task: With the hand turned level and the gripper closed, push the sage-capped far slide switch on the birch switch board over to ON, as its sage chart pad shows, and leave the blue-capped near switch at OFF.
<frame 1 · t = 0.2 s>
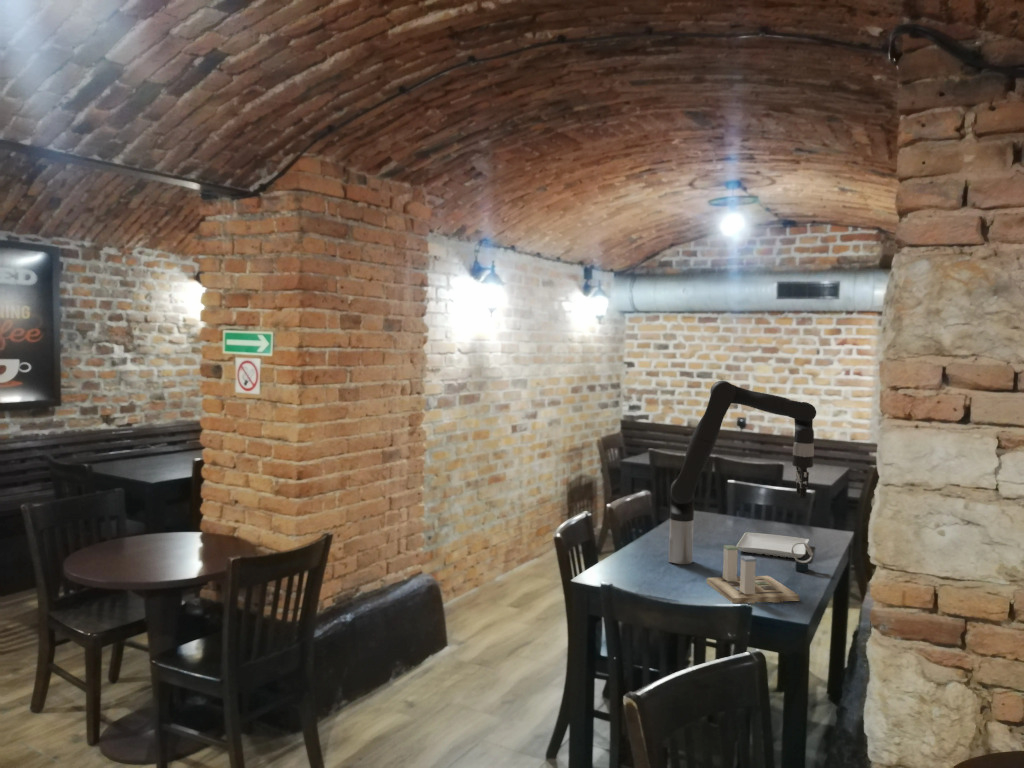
hand: (801, 495, 294), 29 cm above the table, tool pointing down, fingers open, 8 cm apart
near switch: (747, 574, 261), point 8 cm above the table, slide at 0.0 cm
switch board: (751, 592, 269), on the table
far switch: (730, 562, 274), point 9 cm above the table, slide at 0.0 cm
square plate: (773, 550, 325), on the table
watch: (801, 570, 296), on the table
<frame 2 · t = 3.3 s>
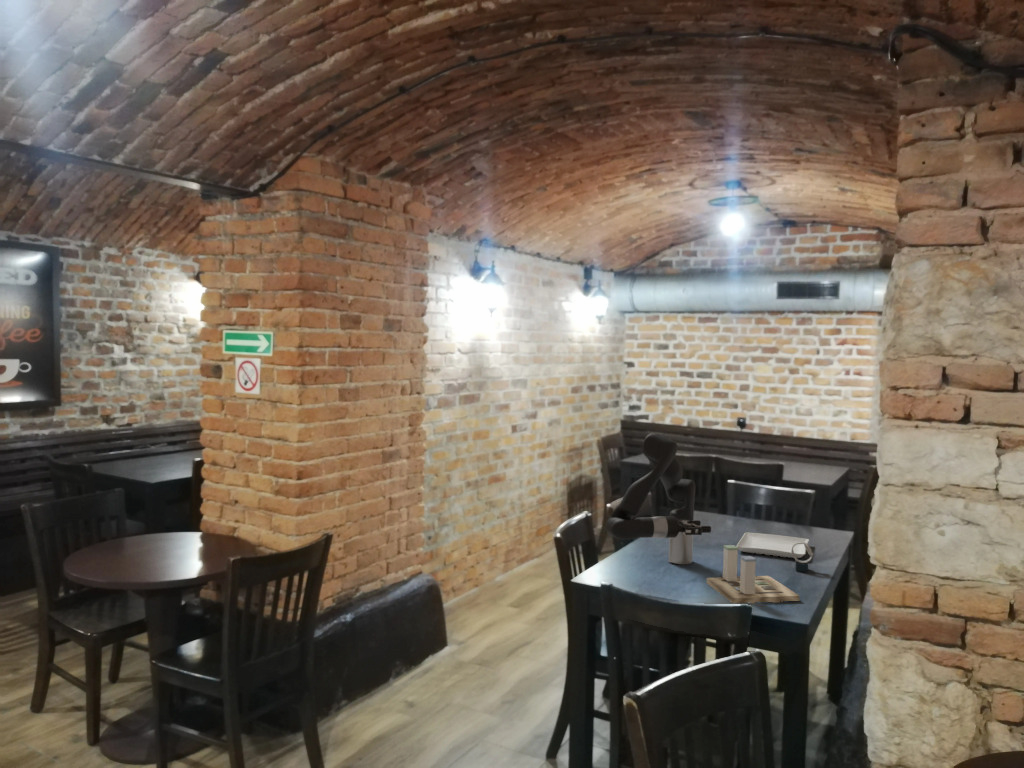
hand: (705, 526, 272), 22 cm above the table, tool horizontal, fingers open, 8 cm apart
nothing on the table moved.
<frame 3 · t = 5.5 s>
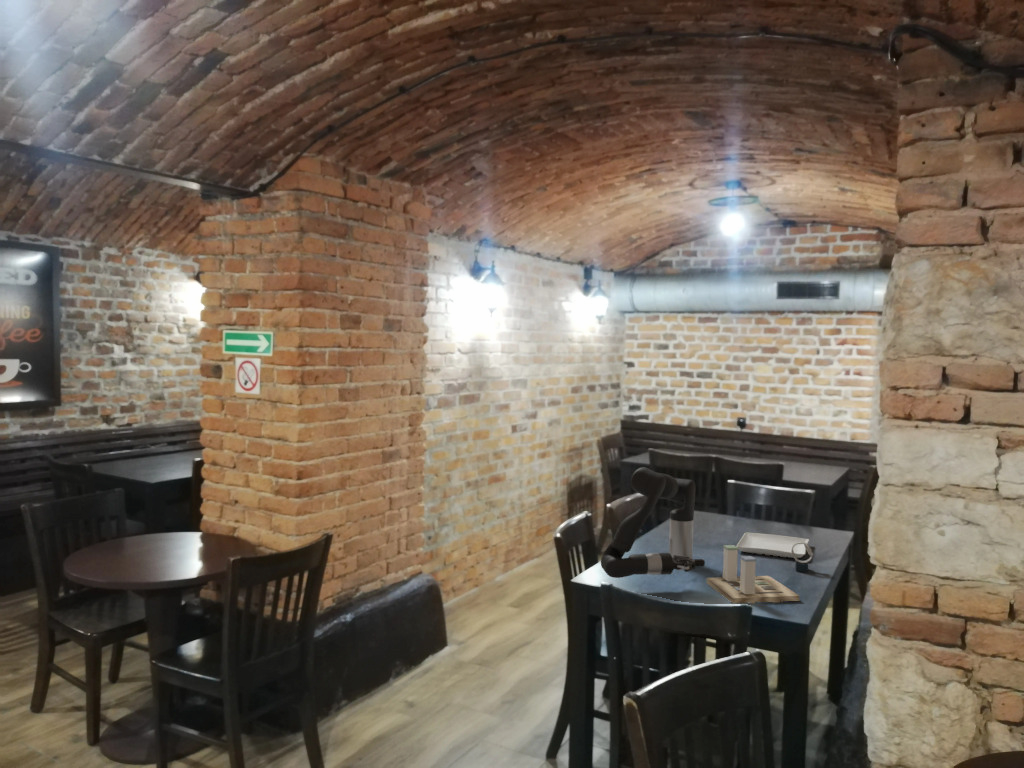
hand: (703, 562, 273), 9 cm above the table, tool horizontal, fingers closed
nothing on the table moved.
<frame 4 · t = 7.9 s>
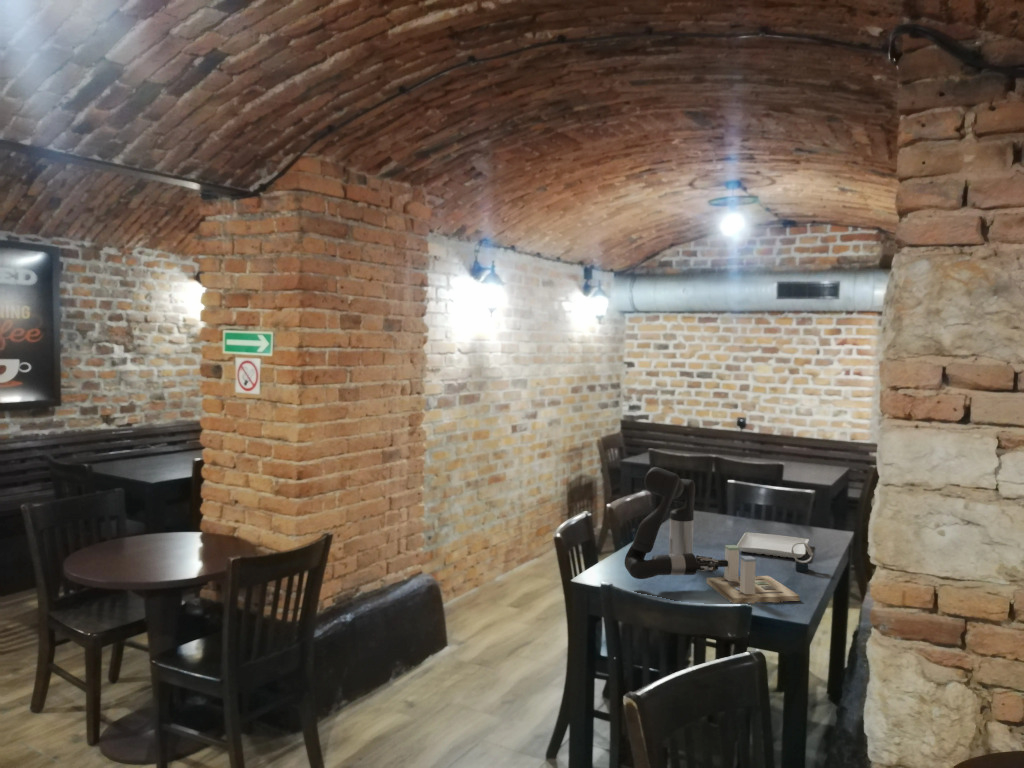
hand: (726, 563, 274), 9 cm above the table, tool horizontal, fingers closed
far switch: (731, 562, 275), point 9 cm above the table, slide at 0.6 cm, touching gripper
everything else where it was.
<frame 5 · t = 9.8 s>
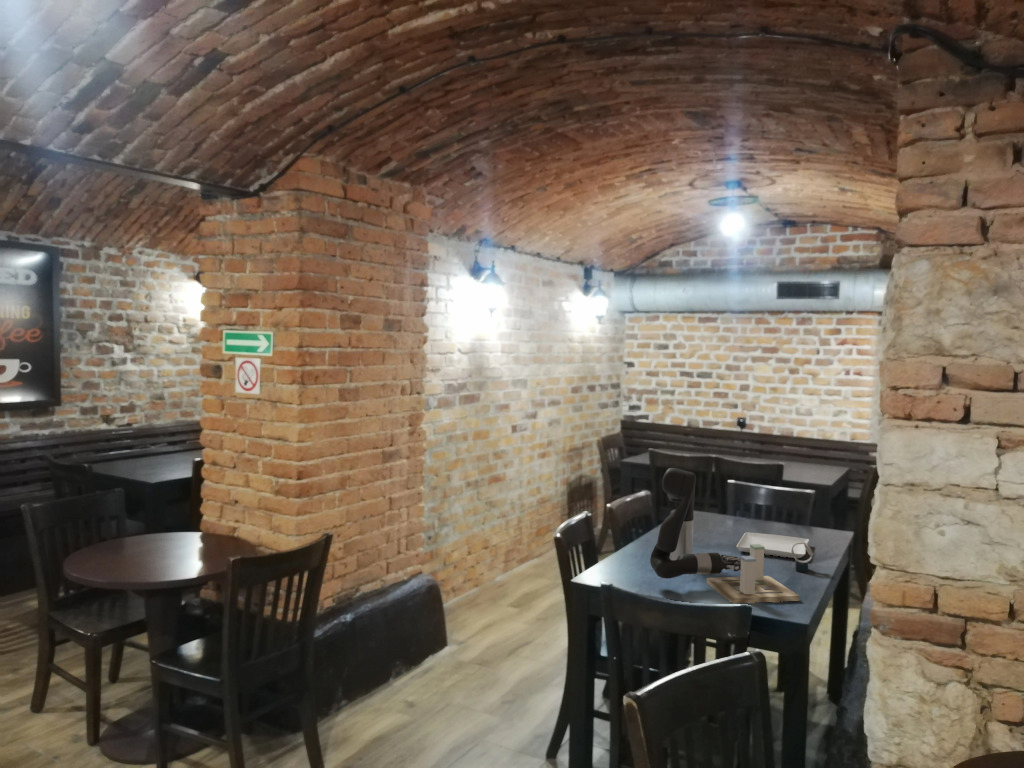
hand: (751, 562, 276), 9 cm above the table, tool horizontal, fingers closed
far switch: (756, 562, 276), point 9 cm above the table, slide at 10.1 cm, touching gripper
everything else where it was.
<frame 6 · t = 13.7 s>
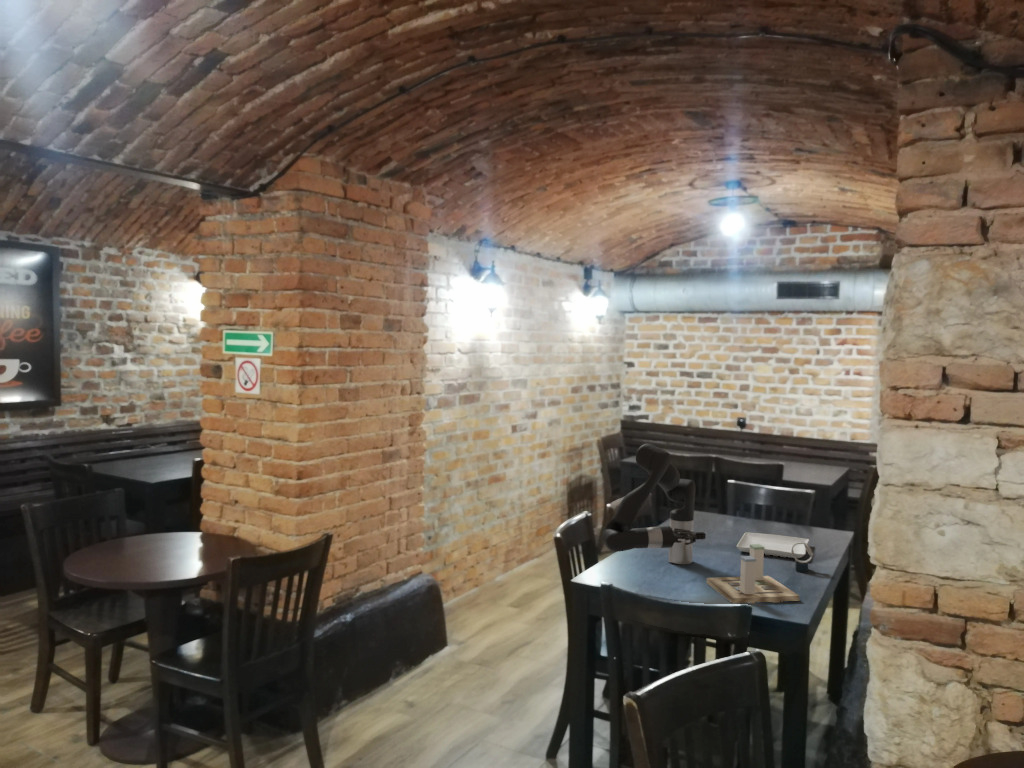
hand: (704, 535, 273), 19 cm above the table, tool horizontal, fingers closed
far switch: (756, 562, 276), point 9 cm above the table, slide at 10.0 cm
everything else where it was.
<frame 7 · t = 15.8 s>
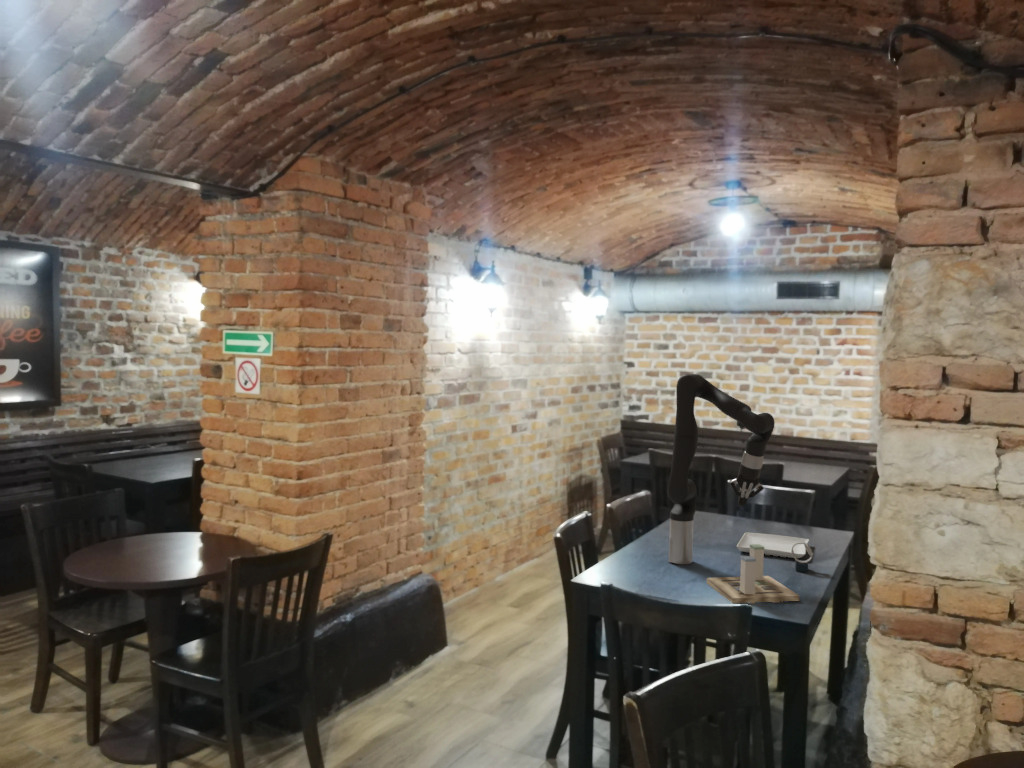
hand: (741, 505, 290), 26 cm above the table, tool tilted 15°, fingers closed
nothing on the table moved.
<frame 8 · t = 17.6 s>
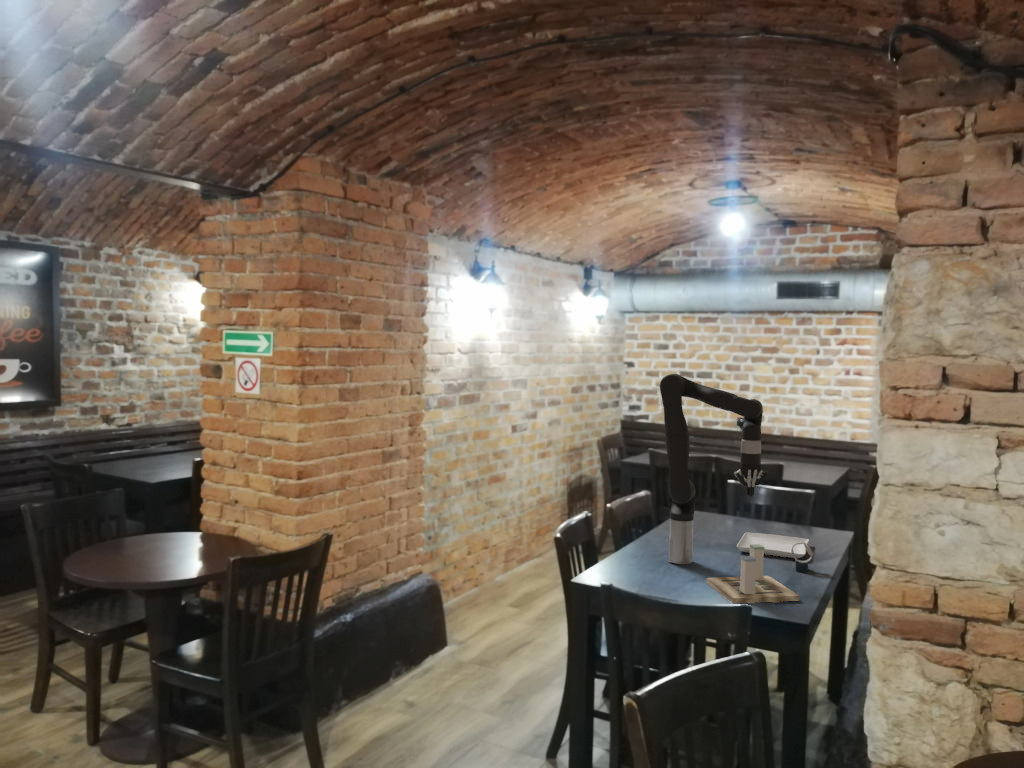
hand: (749, 496, 292), 29 cm above the table, tool pointing down, fingers closed
nothing on the table moved.
at the end: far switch slide at 10.0 cm; near switch slide at 0.0 cm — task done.
